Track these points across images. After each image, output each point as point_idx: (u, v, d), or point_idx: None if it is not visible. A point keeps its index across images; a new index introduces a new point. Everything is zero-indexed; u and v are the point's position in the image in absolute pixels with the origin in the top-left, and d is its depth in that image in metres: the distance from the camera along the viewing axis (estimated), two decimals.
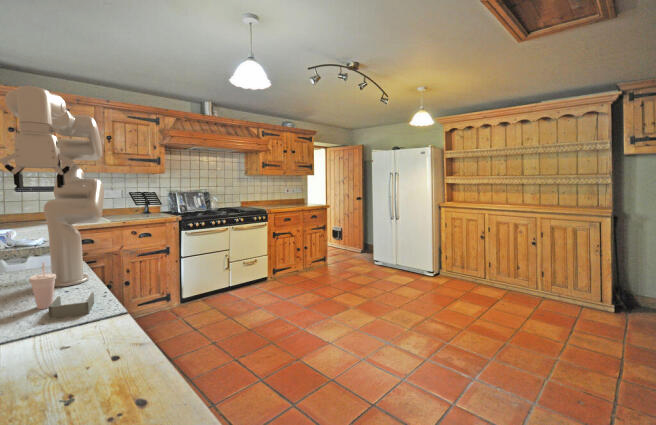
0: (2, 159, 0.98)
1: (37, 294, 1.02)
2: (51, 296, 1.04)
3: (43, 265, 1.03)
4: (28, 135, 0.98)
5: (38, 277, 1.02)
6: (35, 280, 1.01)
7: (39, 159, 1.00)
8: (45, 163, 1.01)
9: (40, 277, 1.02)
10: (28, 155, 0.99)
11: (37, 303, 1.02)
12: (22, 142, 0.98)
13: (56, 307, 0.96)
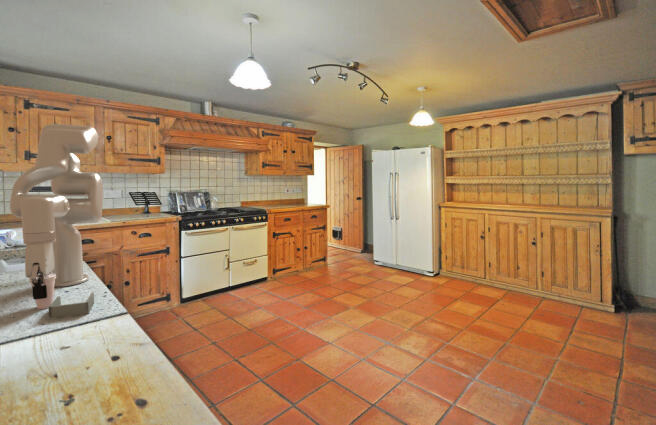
0: (36, 276, 0.97)
1: None
2: (51, 296, 1.04)
3: None
4: (49, 243, 1.02)
5: None
6: None
7: (51, 263, 1.05)
8: (53, 266, 1.06)
9: None
10: (49, 262, 1.03)
11: (37, 303, 1.02)
12: (47, 251, 1.01)
13: (56, 307, 0.96)
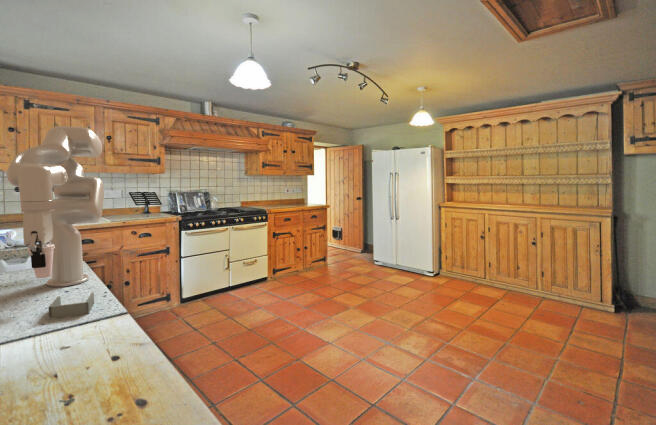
0: (34, 244, 0.97)
1: None
2: (50, 266, 1.04)
3: None
4: (47, 212, 1.02)
5: None
6: None
7: (49, 233, 1.04)
8: (51, 236, 1.06)
9: None
10: (48, 231, 1.02)
11: (36, 272, 1.02)
12: (45, 220, 1.00)
13: (56, 307, 0.96)
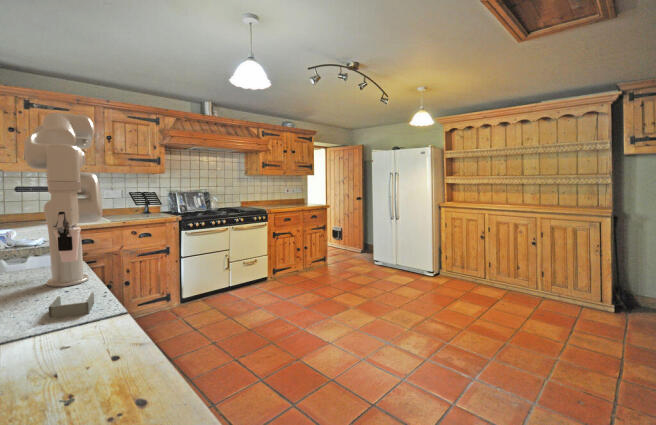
0: (62, 225, 0.93)
1: None
2: (76, 249, 1.00)
3: None
4: (74, 193, 0.98)
5: None
6: None
7: (76, 216, 1.01)
8: (77, 219, 1.02)
9: None
10: (75, 213, 0.98)
11: (62, 256, 0.98)
12: (73, 201, 0.97)
13: (56, 307, 0.96)
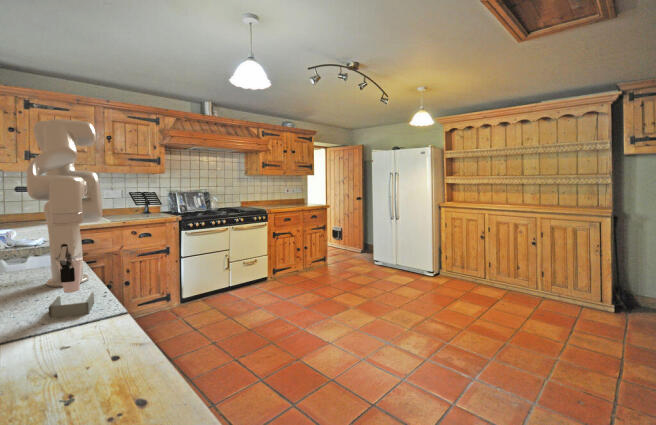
0: (65, 258, 0.94)
1: None
2: (78, 280, 1.01)
3: None
4: (76, 225, 0.99)
5: None
6: None
7: (78, 246, 1.01)
8: (79, 249, 1.03)
9: (67, 260, 0.99)
10: (77, 244, 0.99)
11: (64, 287, 0.99)
12: (75, 233, 0.98)
13: (56, 307, 0.96)
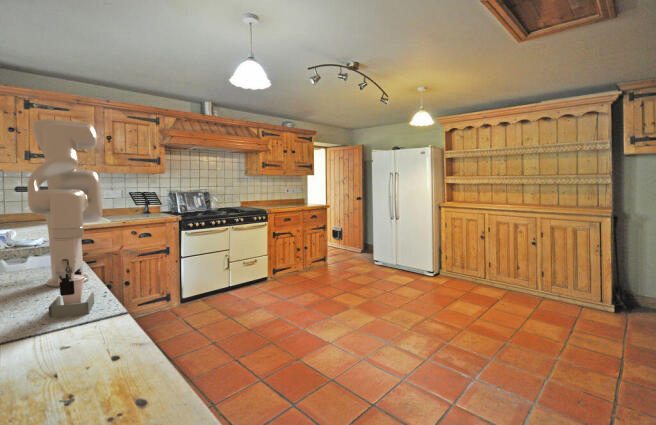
0: (65, 269, 0.93)
1: (66, 296, 0.99)
2: (79, 298, 1.02)
3: None
4: (77, 239, 1.00)
5: None
6: None
7: (79, 260, 1.02)
8: (80, 263, 1.03)
9: None
10: (78, 259, 1.00)
11: None
12: (76, 247, 0.98)
13: (56, 307, 0.96)
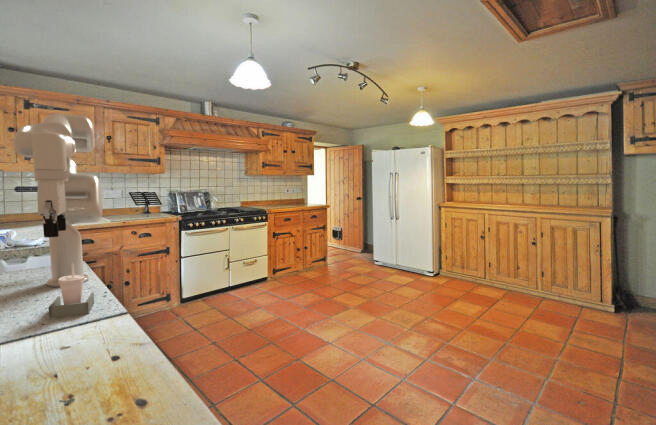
0: (48, 210, 0.92)
1: (66, 296, 0.99)
2: (79, 298, 1.02)
3: (72, 266, 1.00)
4: (61, 182, 0.98)
5: (67, 278, 1.00)
6: (65, 281, 0.98)
7: (63, 204, 1.01)
8: (64, 208, 1.02)
9: (69, 278, 1.00)
10: (62, 202, 0.99)
11: None
12: (60, 190, 0.97)
13: (56, 307, 0.96)
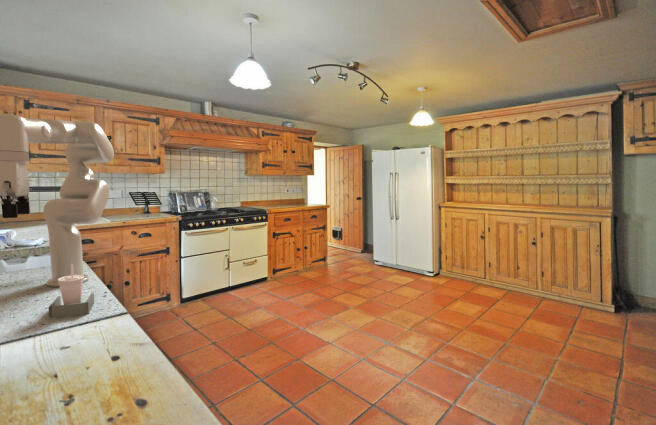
0: (5, 189, 0.93)
1: (66, 296, 0.99)
2: (79, 298, 1.02)
3: (72, 266, 1.00)
4: (22, 164, 0.99)
5: (67, 279, 1.00)
6: (64, 282, 0.98)
7: (25, 187, 1.02)
8: (27, 191, 1.03)
9: (69, 279, 0.99)
10: (22, 184, 0.99)
11: None
12: (19, 171, 0.98)
13: (56, 307, 0.96)
